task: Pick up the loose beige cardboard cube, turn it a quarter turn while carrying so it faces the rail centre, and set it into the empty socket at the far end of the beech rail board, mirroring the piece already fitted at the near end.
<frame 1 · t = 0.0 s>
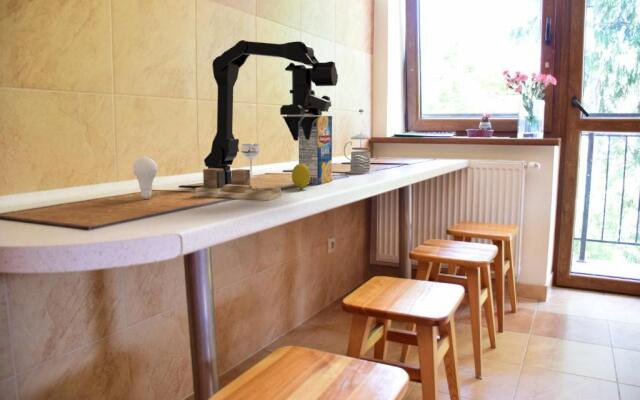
hand: (302, 140, 163), 15 cm above the bar counter, fingers open, 9 cm apart
wineglass: (251, 177, 199), on the bar counter
rail: (238, 196, 149), on the bar counter
beige cardboard cube: (241, 190, 163), on the bar counter
lemon: (301, 189, 165), on the bar counter
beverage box: (315, 183, 182), on the bar counter
french press: (358, 172, 220), on the bar counter
lightbulb: (146, 199, 143), on the bar counter
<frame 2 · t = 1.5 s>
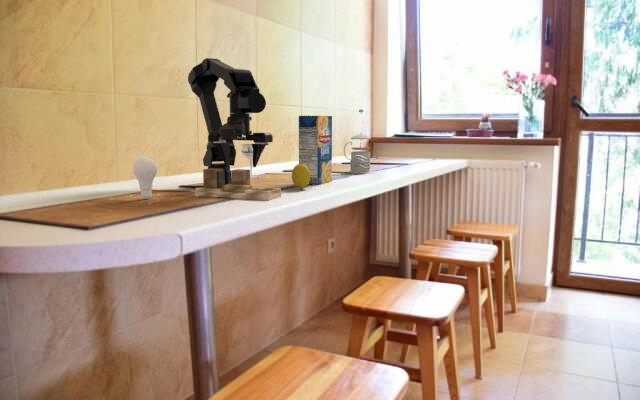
hand: (240, 166, 162), 7 cm above the bar counter, fingers open, 9 cm apart
nothing on the bar counter moved.
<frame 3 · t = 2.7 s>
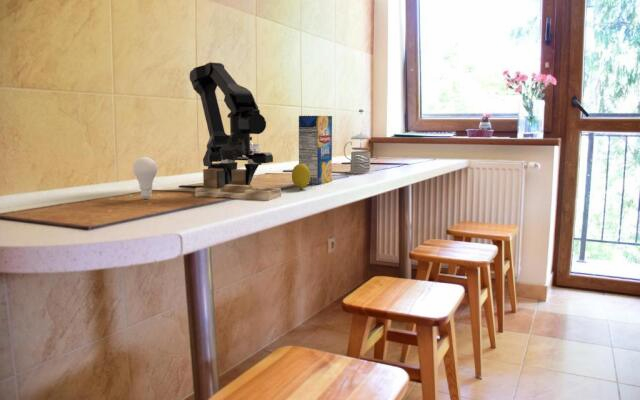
hand: (241, 186, 163), 1 cm above the bar counter, fingers closed on beige cardboard cube, 4 cm apart
beige cardboard cube: (241, 189, 163), on the bar counter, touching gripper
everything else where it was.
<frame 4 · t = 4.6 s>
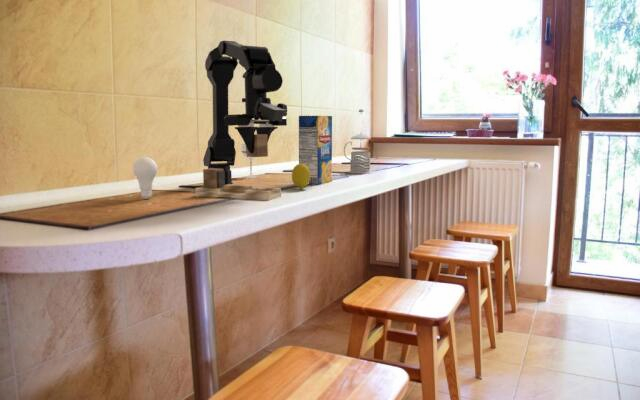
hand: (257, 152, 148), 12 cm above the bar counter, fingers closed on beige cardboard cube, 4 cm apart
beige cardboard cube: (257, 156, 148), point 11 cm above the bar counter, touching gripper
everything else where it was.
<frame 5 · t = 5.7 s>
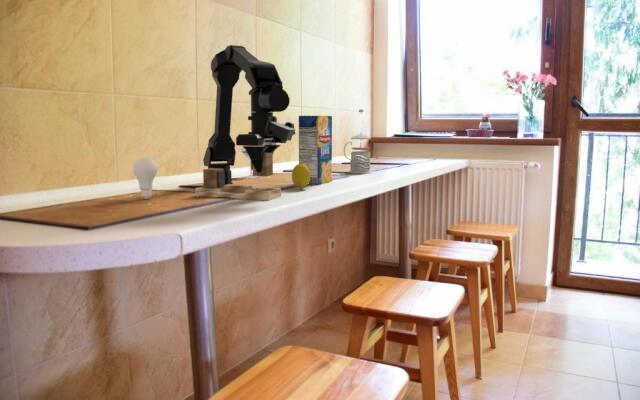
hand: (262, 171, 145), 7 cm above the bar counter, fingers closed on beige cardboard cube, 4 cm apart
beige cardboard cube: (262, 175, 146), point 6 cm above the bar counter, touching gripper
everything else where it was.
when the fingers open (3 cm above the bar counter, at t = 6.7 s): beige cardboard cube stays where it is, resting on rail.
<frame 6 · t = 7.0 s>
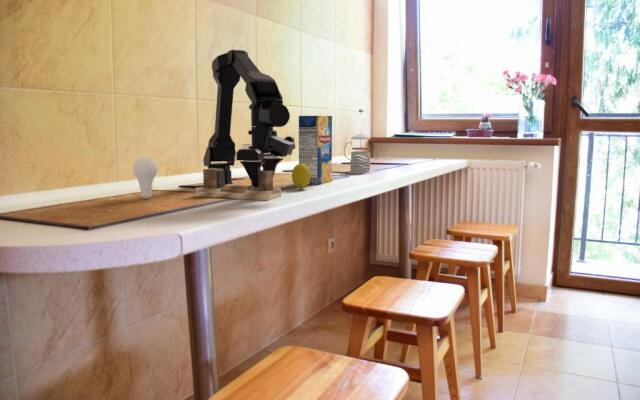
hand: (263, 185, 146), 3 cm above the bar counter, fingers open, 8 cm apart
beige cardboard cube: (263, 193, 146), point 1 cm above the bar counter, touching rail
everything else where it was.
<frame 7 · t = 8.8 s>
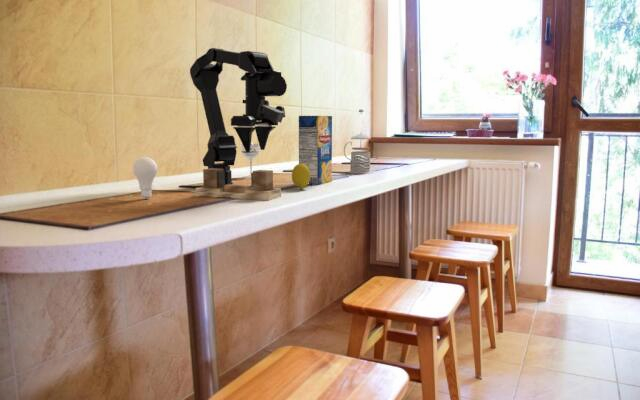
hand: (255, 150, 161), 12 cm above the bar counter, fingers open, 9 cm apart
nothing on the bar counter moved.
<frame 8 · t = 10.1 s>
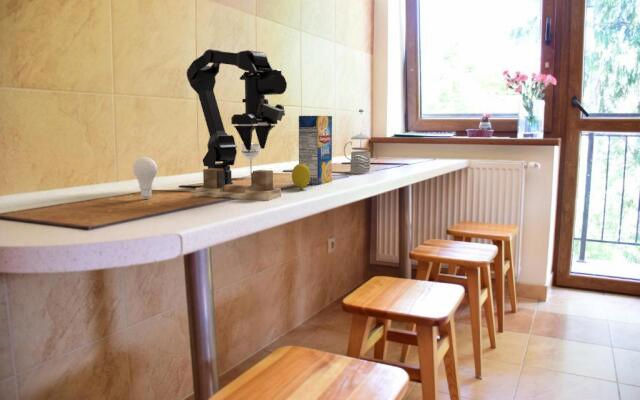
hand: (255, 149, 162), 12 cm above the bar counter, fingers open, 9 cm apart
nothing on the bar counter moved.
at the end: beige cardboard cube 0.0 cm from the target spot on the rail, point 1.2 cm above the rail's base; beige cardboard cube tilted 0°; the gripper is holding nothing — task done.
